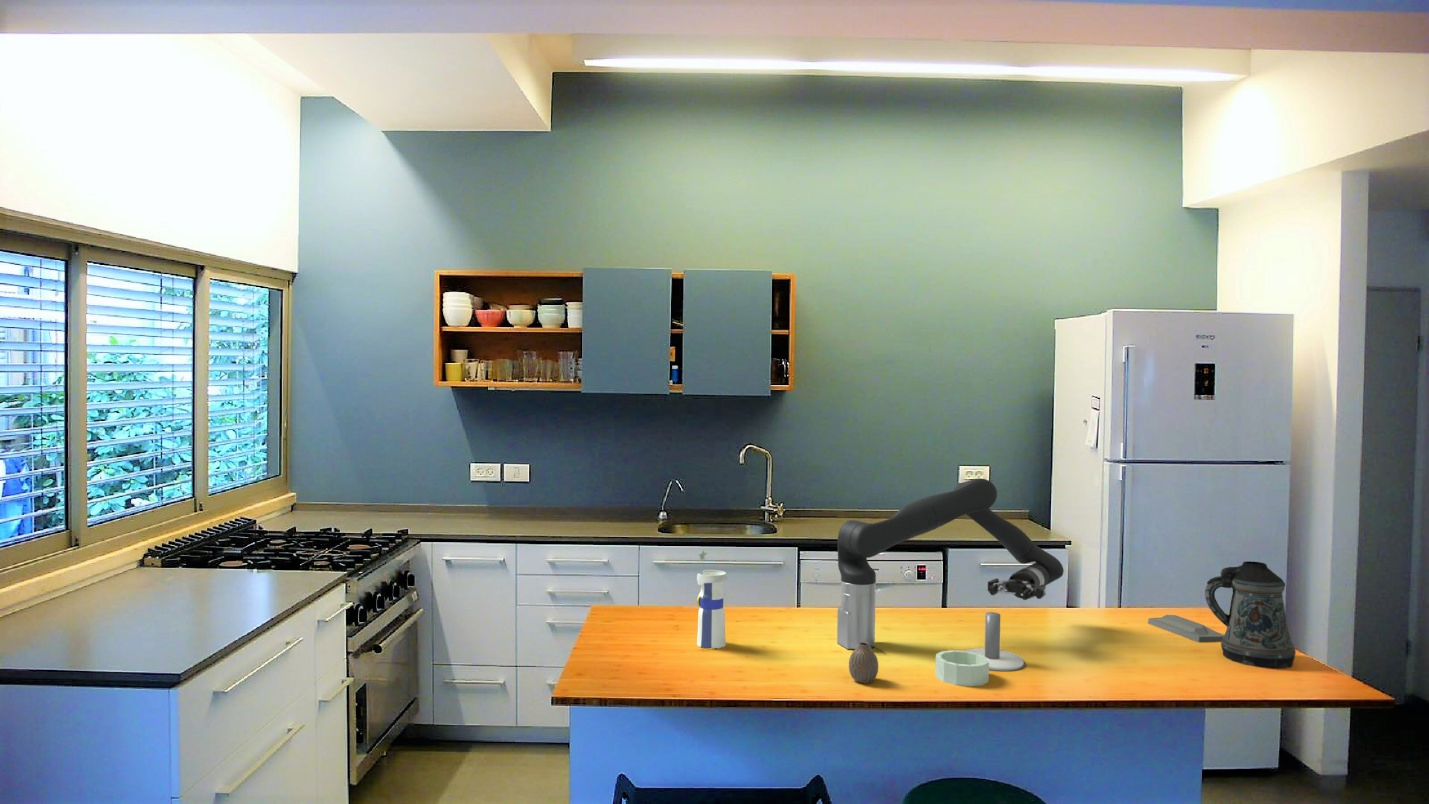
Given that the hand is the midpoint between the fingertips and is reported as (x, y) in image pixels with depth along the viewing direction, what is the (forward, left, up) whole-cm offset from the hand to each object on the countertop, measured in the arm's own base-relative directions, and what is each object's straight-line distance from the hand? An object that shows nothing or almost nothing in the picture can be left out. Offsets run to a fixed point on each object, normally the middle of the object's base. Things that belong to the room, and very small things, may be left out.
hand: (1007, 593), depth 228 cm
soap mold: (+64, +3, -16) cm, 66 cm away
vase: (-47, -10, -16) cm, 51 cm away
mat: (-9, -7, -15) cm, 19 cm away
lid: (-9, -7, -15) cm, 19 cm away
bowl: (-24, -15, -15) cm, 32 cm away
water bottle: (-73, +27, -16) cm, 80 cm away
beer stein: (+59, -23, -16) cm, 65 cm away
